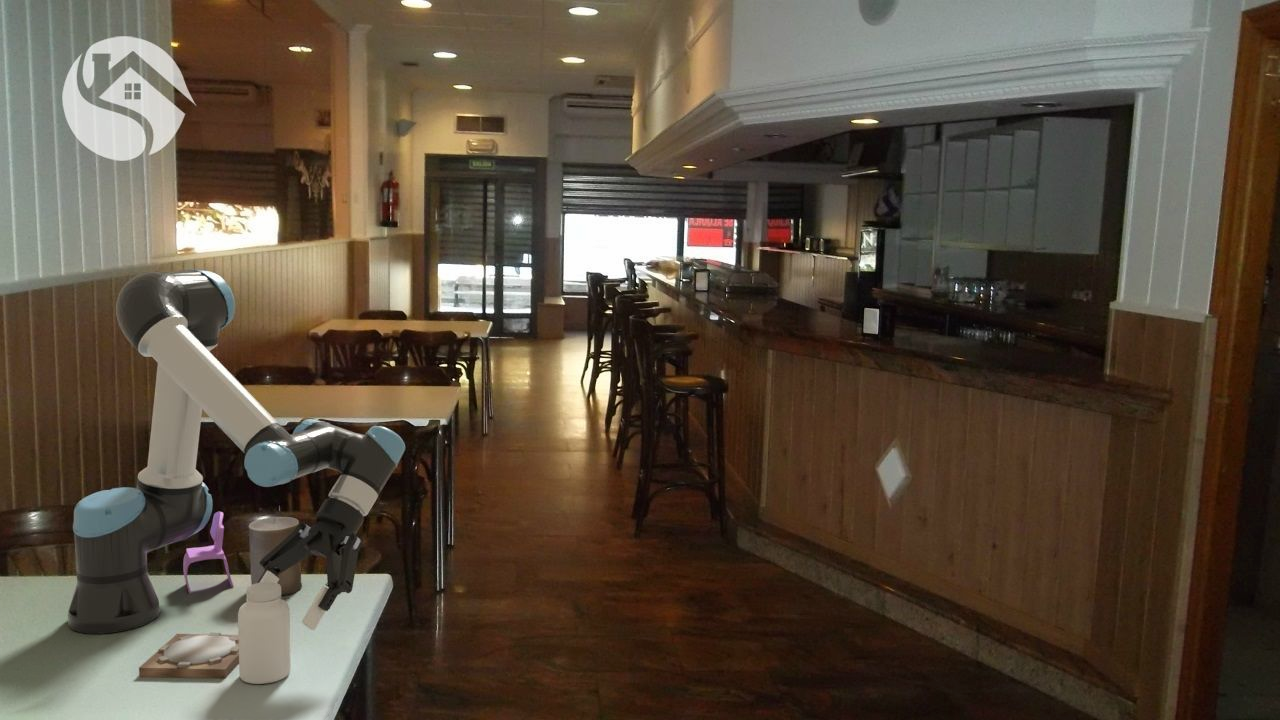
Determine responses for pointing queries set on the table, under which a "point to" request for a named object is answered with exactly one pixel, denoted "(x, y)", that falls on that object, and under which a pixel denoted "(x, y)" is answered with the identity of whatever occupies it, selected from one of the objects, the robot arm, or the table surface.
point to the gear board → (194, 657)
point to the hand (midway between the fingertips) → (278, 617)
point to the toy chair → (208, 549)
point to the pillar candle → (264, 541)
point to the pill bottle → (264, 635)
